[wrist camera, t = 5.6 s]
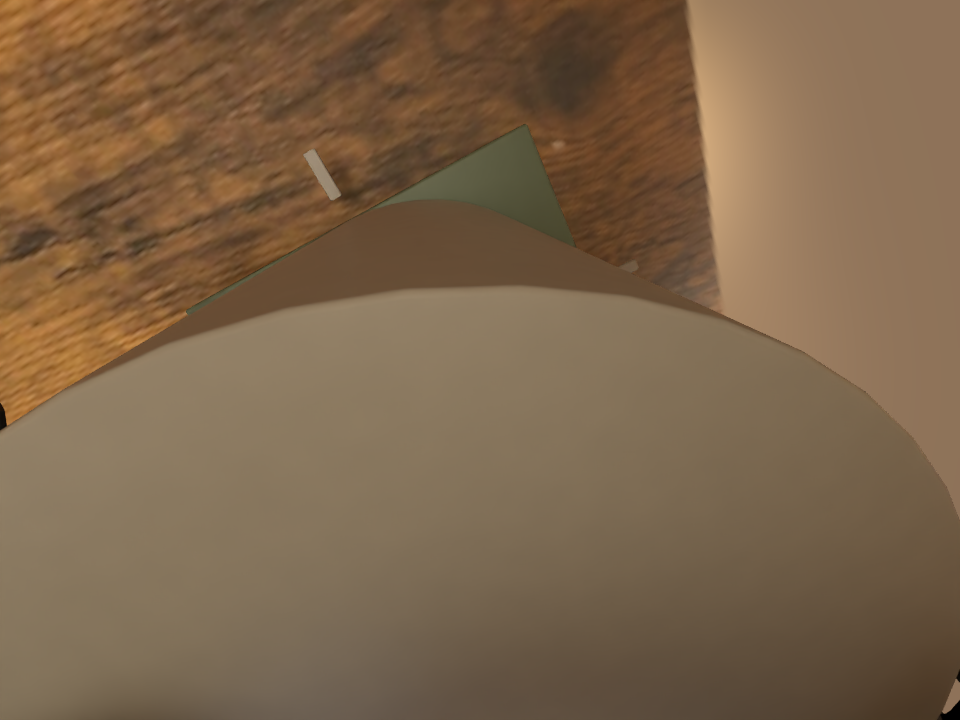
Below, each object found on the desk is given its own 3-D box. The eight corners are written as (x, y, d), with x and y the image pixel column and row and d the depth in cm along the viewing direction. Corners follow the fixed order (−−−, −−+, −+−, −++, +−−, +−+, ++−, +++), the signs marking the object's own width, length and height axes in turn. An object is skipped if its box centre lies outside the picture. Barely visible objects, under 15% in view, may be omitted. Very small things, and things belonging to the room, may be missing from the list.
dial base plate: (528, 41, 15) (549, 14, 12) (664, 403, 21) (696, 433, 18) (137, 261, 16) (85, 277, 13) (372, 546, 22) (365, 593, 19)
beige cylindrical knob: (512, 130, 13) (1018, -130, 2) (630, 416, 18) (1010, 848, 6) (196, 304, 14) (-721, 818, 3) (382, 537, 18) (319, 1121, 7)
